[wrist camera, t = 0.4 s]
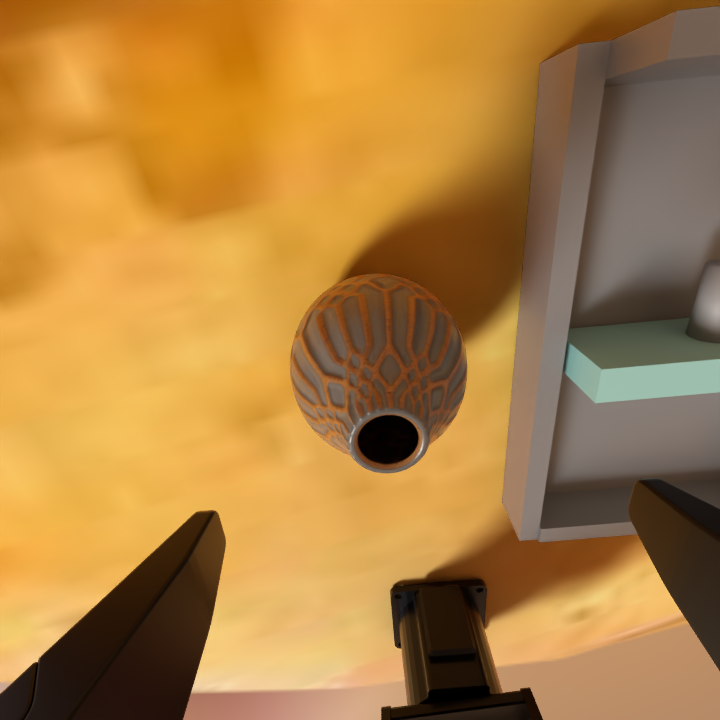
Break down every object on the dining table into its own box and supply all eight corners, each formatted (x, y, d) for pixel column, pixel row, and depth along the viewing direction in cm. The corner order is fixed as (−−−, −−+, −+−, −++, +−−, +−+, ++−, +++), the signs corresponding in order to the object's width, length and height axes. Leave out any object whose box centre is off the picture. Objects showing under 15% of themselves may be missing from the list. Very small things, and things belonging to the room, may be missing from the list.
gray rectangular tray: (734, 482, 25) (834, 565, 20) (502, 502, 25) (541, 589, 20) (924, 23, 15) (1219, -46, 10) (540, 63, 15) (636, 14, 10)
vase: (452, 259, 18) (531, 334, 10) (435, 392, 21) (486, 528, 13) (297, 256, 18) (258, 329, 10) (303, 390, 21) (276, 528, 13)
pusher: (785, 337, 19) (884, 377, 16) (550, 358, 20) (595, 403, 16) (824, 241, 17) (947, 262, 14) (562, 265, 18) (616, 292, 14)
